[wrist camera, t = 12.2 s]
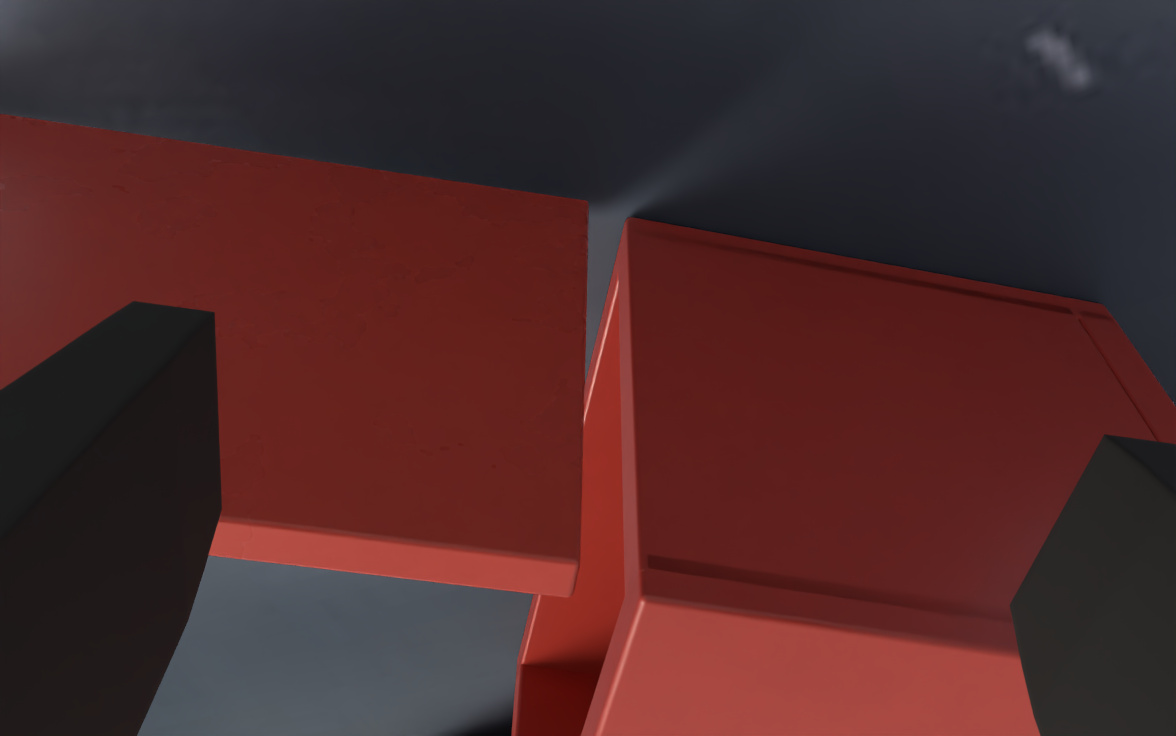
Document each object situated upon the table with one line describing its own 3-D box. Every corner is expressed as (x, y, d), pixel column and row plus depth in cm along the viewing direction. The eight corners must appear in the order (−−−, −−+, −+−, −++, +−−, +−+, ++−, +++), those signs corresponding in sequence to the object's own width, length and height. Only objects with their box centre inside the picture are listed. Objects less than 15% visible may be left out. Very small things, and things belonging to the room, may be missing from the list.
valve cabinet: (626, 213, 19) (640, 598, 12) (1105, 302, 20) (1390, 709, 13) (517, 659, 26) (483, 1077, 19) (879, 710, 27) (981, 1128, 20)
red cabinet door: (643, -110, 16) (675, 129, 9) (583, 229, 19) (572, 601, 12) (-209, -256, 15) (-921, -118, 8) (-122, 126, 18) (-576, 464, 11)
